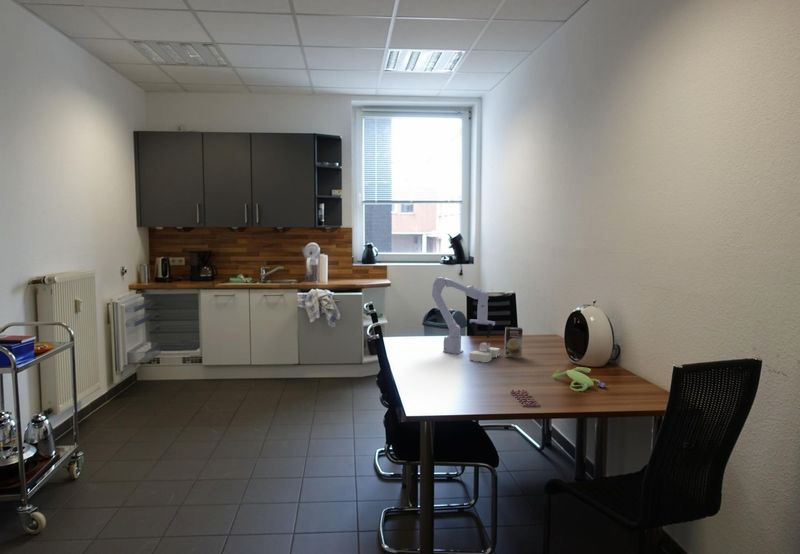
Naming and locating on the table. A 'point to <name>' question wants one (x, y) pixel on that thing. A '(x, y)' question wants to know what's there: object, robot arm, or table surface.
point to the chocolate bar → (524, 398)
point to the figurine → (579, 378)
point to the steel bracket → (485, 347)
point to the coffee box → (513, 342)
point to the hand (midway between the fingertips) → (481, 336)
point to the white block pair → (484, 355)
